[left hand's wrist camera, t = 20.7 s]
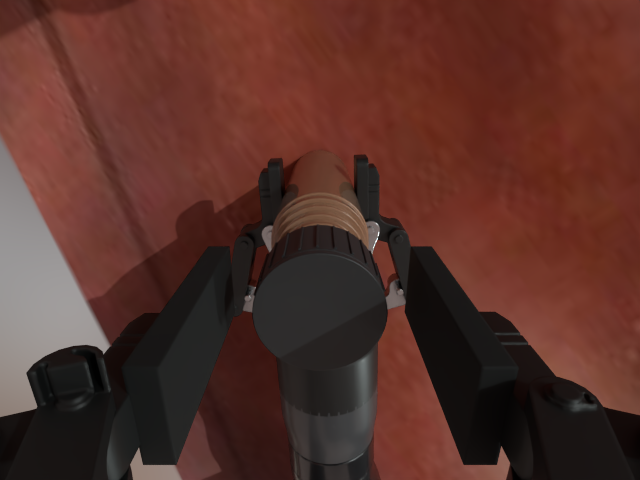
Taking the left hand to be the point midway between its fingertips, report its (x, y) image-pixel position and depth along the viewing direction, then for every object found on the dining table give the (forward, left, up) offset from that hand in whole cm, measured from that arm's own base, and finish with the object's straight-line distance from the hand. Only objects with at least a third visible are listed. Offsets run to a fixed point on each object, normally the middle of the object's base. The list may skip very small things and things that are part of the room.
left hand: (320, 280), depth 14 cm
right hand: (-2, +1, -11) cm, 11 cm away
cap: (0, 0, 0) cm, 0 cm away
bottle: (0, 0, -18) cm, 18 cm away
